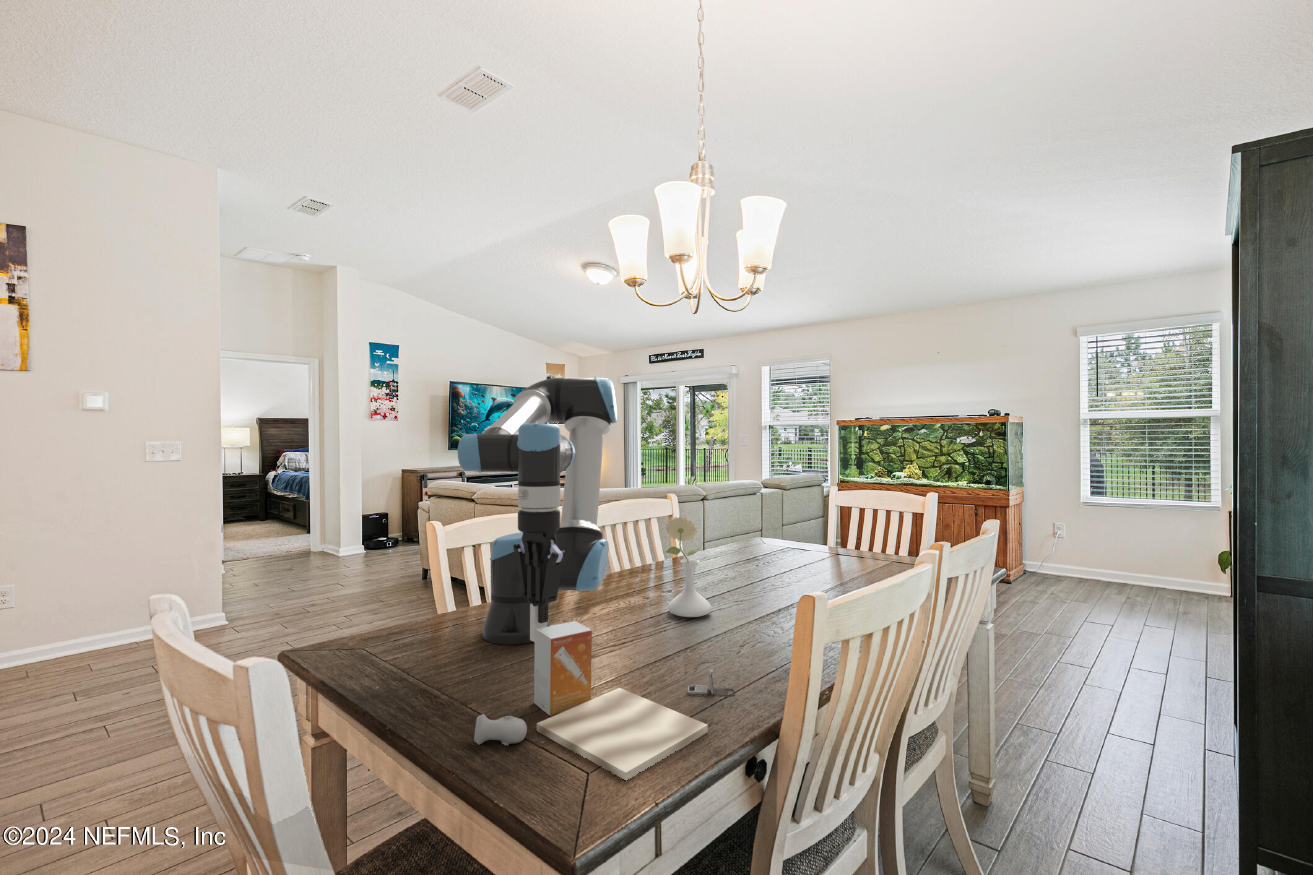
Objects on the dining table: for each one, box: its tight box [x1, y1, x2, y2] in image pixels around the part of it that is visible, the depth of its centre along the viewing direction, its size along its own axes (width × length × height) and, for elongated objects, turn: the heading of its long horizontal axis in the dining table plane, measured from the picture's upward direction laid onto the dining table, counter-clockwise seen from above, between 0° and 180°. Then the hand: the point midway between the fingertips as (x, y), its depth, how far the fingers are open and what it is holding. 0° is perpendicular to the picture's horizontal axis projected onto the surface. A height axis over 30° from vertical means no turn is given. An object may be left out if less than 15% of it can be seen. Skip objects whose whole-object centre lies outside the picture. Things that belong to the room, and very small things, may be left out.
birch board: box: [536, 687, 709, 781], centre depth 94 cm, size 20×18×1 cm
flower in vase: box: [665, 516, 713, 618], centre depth 155 cm, size 13×11×25 cm
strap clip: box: [687, 668, 736, 697], centre depth 109 cm, size 8×3×4 cm, turn 87°
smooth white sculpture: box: [473, 713, 528, 746], centre depth 92 cm, size 4×8×5 cm
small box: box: [533, 620, 593, 717], centre depth 104 cm, size 8×6×13 cm
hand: (538, 638), depth 109 cm, fingers closed
